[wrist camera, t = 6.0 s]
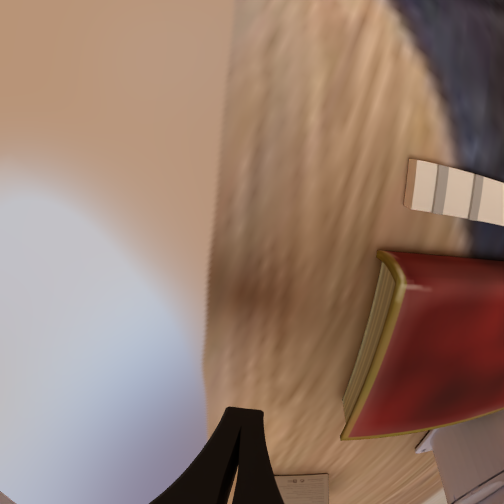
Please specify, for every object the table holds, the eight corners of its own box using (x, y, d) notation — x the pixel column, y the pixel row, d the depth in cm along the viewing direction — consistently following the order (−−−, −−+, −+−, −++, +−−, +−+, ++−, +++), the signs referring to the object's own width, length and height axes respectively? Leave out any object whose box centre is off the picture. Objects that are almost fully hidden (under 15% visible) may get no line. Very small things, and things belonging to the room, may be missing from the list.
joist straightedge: (541, 197, 11) (553, 202, 10) (535, 230, 12) (546, 236, 11) (409, 158, 12) (420, 159, 11) (403, 205, 13) (413, 210, 12)
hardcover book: (375, 243, 14) (404, 277, 10) (565, 263, 12) (593, 283, 9) (335, 398, 18) (341, 443, 15) (518, 373, 17) (535, 398, 13)
